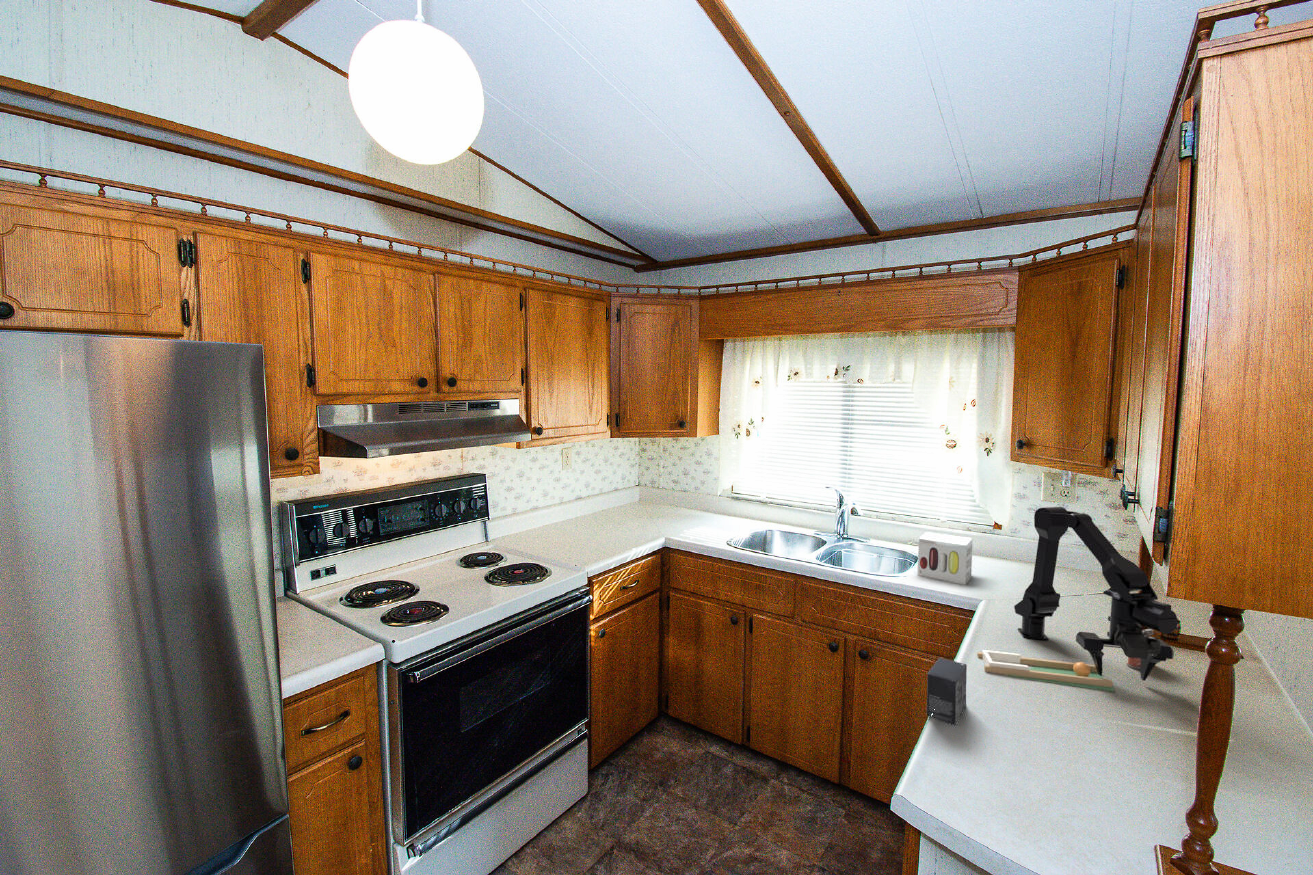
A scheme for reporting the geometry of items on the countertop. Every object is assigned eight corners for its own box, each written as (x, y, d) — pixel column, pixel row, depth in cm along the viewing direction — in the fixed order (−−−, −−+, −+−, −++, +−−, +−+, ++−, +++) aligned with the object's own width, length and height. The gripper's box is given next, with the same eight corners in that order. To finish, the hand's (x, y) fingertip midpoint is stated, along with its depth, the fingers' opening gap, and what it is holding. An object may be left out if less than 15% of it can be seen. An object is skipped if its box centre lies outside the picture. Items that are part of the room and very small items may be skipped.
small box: (936, 698, 140) (938, 656, 139) (966, 707, 136) (968, 663, 135) (924, 717, 132) (925, 672, 131) (956, 727, 128) (957, 681, 127)
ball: (1070, 672, 152) (1071, 658, 151) (1086, 673, 150) (1087, 660, 150) (1075, 678, 148) (1076, 664, 148) (1092, 680, 147) (1093, 666, 147)
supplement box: (916, 583, 226) (917, 537, 225) (924, 575, 237) (925, 531, 236) (965, 592, 216) (967, 544, 215) (972, 583, 226) (973, 537, 225)
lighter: (1136, 671, 153) (1138, 634, 153) (1123, 665, 156) (1124, 629, 156) (1158, 667, 155) (1160, 630, 155) (1145, 661, 159) (1147, 626, 158)
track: (976, 657, 161) (976, 650, 161) (1095, 671, 153) (1095, 663, 153) (986, 675, 151) (986, 668, 151) (1114, 691, 143) (1114, 683, 142)
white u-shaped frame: (981, 658, 160) (982, 649, 159) (1019, 662, 157) (1019, 653, 157) (989, 671, 152) (989, 662, 152) (1028, 676, 149) (1028, 666, 149)
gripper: (1095, 625, 141) (1092, 687, 142) (1189, 634, 135) (1184, 698, 137) (1076, 609, 151) (1073, 667, 153) (1162, 616, 146) (1158, 676, 147)
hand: (1121, 677), depth 147 cm, fingers open, 9 cm apart
